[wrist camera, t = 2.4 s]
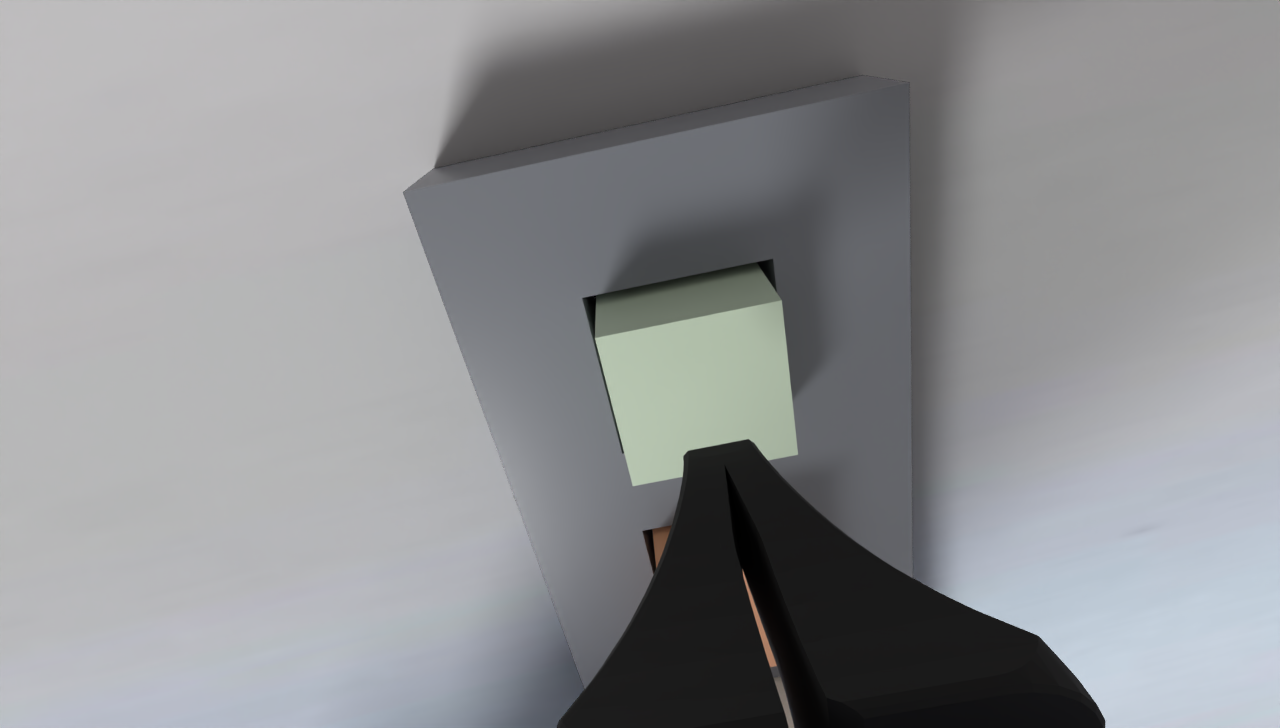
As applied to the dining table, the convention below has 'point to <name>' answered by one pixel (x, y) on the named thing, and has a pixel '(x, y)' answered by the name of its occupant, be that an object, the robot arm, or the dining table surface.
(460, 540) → the dining table surface
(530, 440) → the button panel
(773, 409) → the sage button
